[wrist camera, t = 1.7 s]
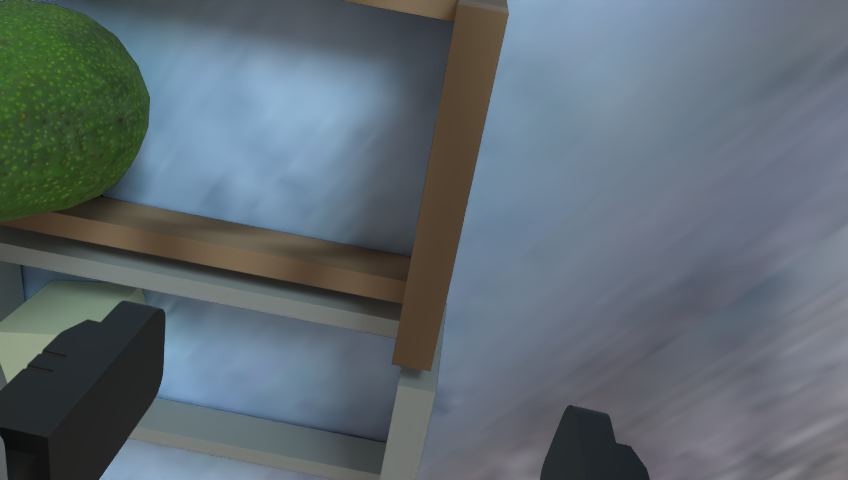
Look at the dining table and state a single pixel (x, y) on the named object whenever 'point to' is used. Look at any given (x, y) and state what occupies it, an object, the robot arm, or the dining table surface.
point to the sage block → (56, 317)
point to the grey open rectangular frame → (229, 432)
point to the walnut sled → (328, 261)
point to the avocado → (63, 109)
